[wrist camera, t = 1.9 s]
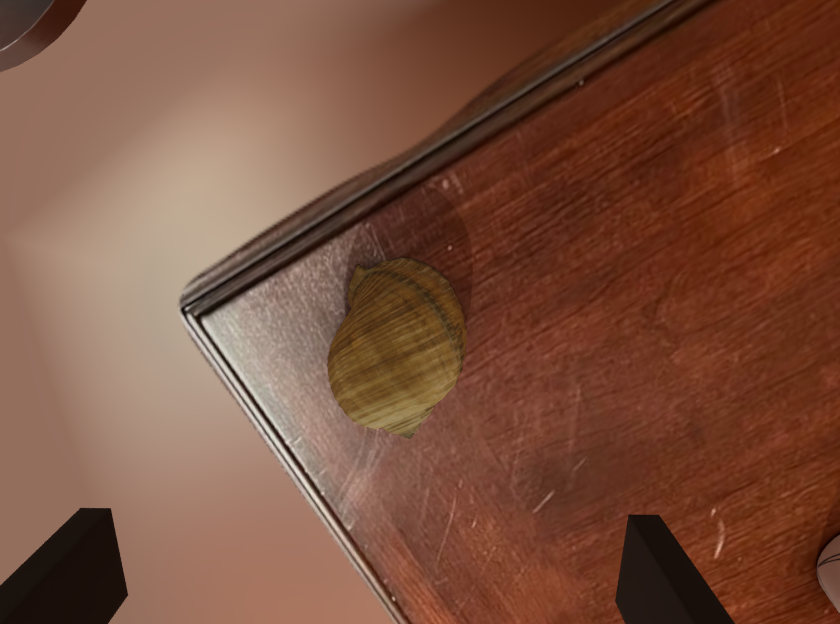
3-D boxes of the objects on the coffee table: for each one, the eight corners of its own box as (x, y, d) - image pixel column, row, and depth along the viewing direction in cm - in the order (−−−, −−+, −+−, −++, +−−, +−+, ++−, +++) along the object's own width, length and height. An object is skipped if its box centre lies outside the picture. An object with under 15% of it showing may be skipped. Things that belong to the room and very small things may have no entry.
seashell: (378, 263, 31) (271, 295, 25) (459, 227, 26) (346, 257, 20) (429, 401, 31) (336, 463, 26) (518, 393, 26) (425, 467, 21)
